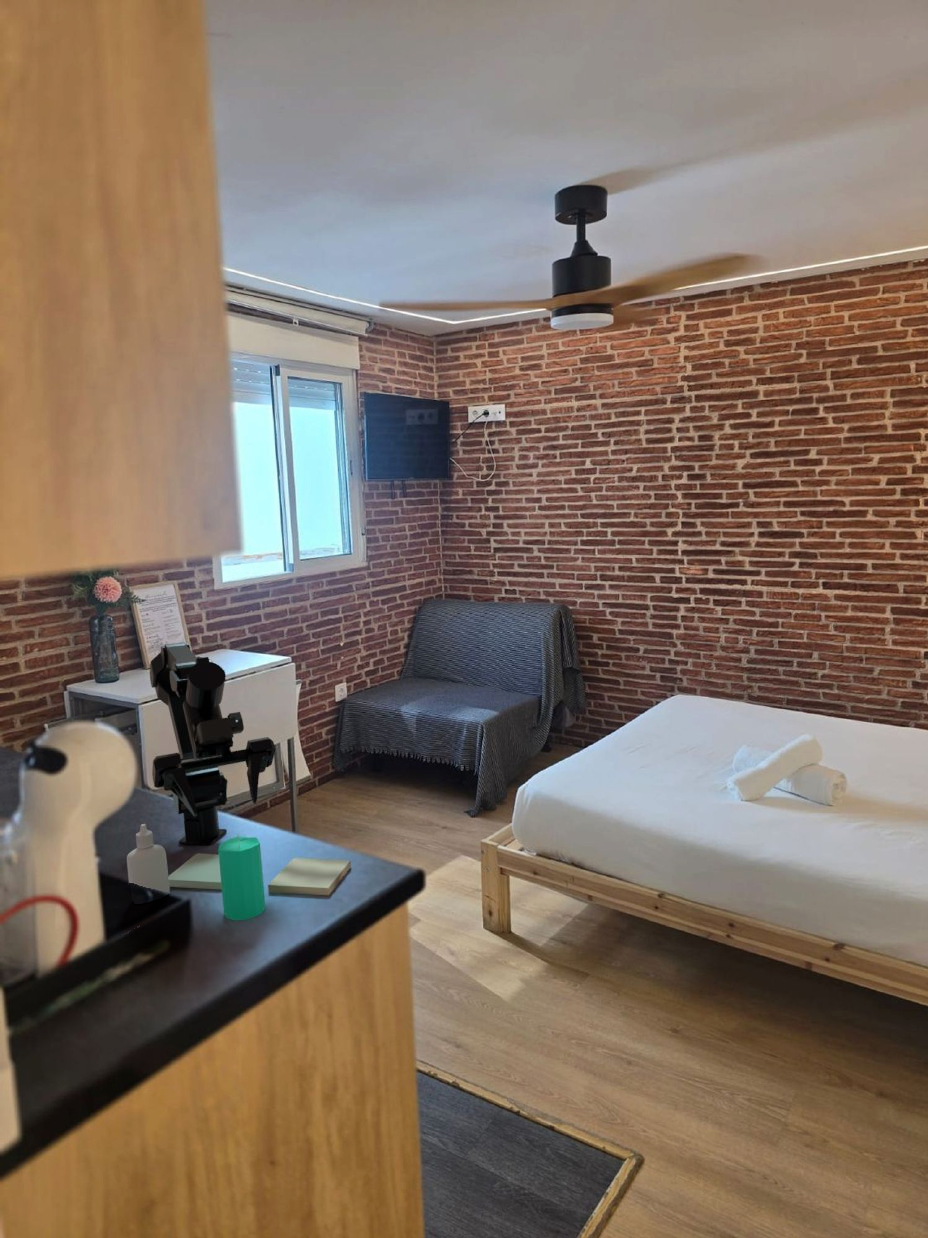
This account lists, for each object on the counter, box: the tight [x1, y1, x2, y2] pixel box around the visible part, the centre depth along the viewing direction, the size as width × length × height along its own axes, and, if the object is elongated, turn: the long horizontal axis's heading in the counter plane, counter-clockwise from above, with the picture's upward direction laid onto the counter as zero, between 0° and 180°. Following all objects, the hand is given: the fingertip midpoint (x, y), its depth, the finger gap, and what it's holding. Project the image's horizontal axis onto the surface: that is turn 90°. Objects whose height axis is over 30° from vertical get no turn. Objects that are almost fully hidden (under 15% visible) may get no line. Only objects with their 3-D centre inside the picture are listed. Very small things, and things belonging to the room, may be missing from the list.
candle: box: [217, 833, 266, 921], centre depth 122 cm, size 6×6×12 cm
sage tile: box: [168, 853, 222, 891], centre depth 136 cm, size 10×10×1 cm
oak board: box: [267, 857, 352, 896], centre depth 132 cm, size 10×10×1 cm
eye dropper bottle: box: [126, 823, 171, 894], centre depth 127 cm, size 4×6×12 cm
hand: (225, 808), depth 128 cm, fingers open, 9 cm apart
